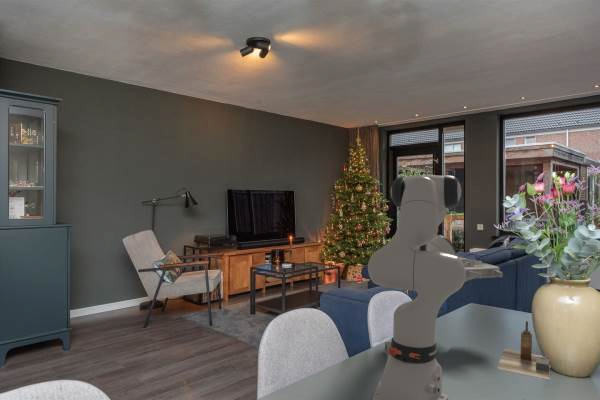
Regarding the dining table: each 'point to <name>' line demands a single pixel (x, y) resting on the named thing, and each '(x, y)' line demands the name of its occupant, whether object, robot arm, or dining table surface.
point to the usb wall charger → (387, 348)
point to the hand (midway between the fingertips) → (491, 275)
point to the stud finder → (542, 364)
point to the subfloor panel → (521, 364)
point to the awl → (526, 343)
